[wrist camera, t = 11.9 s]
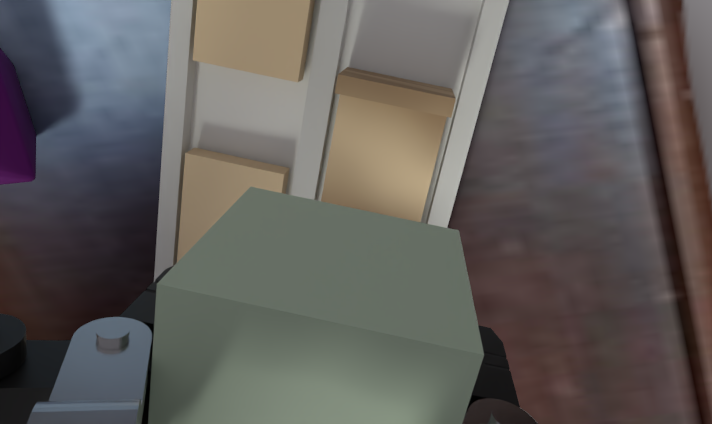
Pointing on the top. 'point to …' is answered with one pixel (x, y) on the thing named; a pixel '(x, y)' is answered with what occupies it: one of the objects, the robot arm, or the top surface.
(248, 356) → the block
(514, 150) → the top surface
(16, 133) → the perfume bottle
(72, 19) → the top surface
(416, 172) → the tan slider with post
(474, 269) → the top surface
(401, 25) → the lane board
